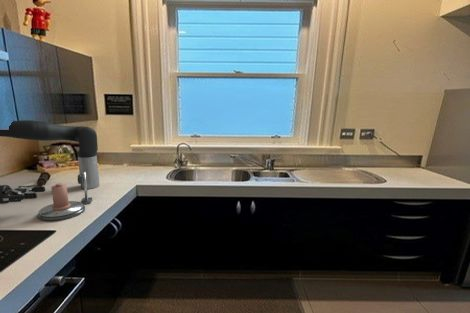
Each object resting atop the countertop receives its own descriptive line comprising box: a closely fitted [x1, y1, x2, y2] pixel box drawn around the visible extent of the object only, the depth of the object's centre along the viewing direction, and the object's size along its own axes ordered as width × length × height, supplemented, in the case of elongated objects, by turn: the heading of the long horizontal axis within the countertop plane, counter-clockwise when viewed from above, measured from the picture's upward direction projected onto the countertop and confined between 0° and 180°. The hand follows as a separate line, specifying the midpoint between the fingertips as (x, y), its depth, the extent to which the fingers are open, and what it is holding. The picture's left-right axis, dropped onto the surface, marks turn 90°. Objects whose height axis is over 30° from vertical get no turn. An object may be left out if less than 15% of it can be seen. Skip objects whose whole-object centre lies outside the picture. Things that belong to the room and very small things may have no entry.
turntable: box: [38, 200, 85, 218], centre depth 118 cm, size 16×16×1 cm
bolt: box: [36, 171, 52, 187], centre depth 159 cm, size 6×5×15 cm
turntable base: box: [37, 204, 86, 222], centre depth 118 cm, size 17×17×1 cm
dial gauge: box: [77, 172, 94, 205], centre depth 129 cm, size 4×4×15 cm
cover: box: [50, 183, 71, 211], centre depth 117 cm, size 7×7×10 cm
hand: (40, 192), depth 114 cm, fingers open, 8 cm apart
